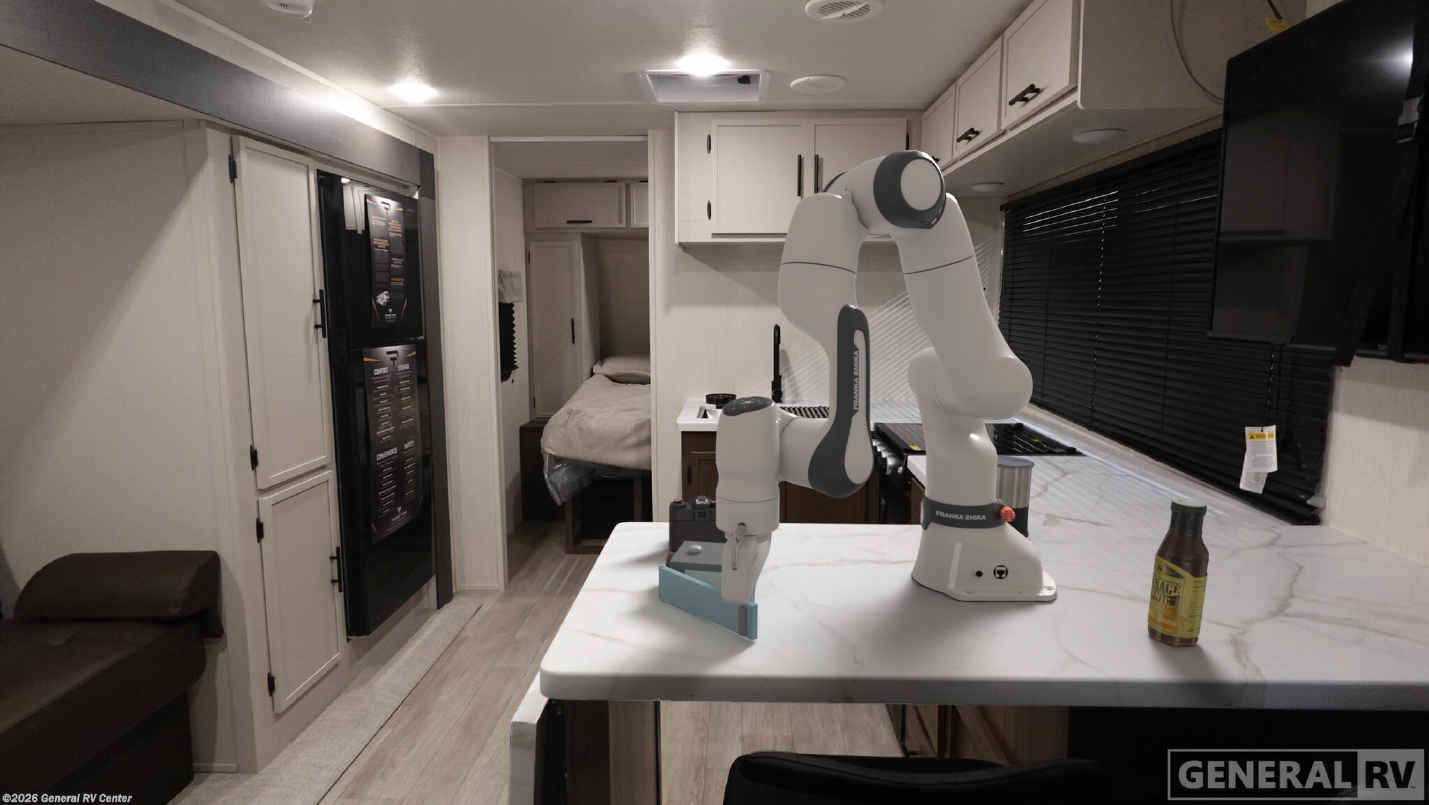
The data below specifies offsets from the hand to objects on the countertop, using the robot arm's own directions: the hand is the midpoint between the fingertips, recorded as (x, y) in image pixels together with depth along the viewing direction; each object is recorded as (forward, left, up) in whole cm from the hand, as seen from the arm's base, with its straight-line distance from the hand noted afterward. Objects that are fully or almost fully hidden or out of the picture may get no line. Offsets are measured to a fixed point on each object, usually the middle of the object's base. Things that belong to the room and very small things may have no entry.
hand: (747, 607), depth 106 cm
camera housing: (+8, -13, -3) cm, 16 cm away
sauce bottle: (-58, -8, -3) cm, 59 cm away
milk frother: (-41, -50, -4) cm, 65 cm away
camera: (+13, -34, -4) cm, 37 cm away
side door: (+7, -2, -3) cm, 8 cm away
